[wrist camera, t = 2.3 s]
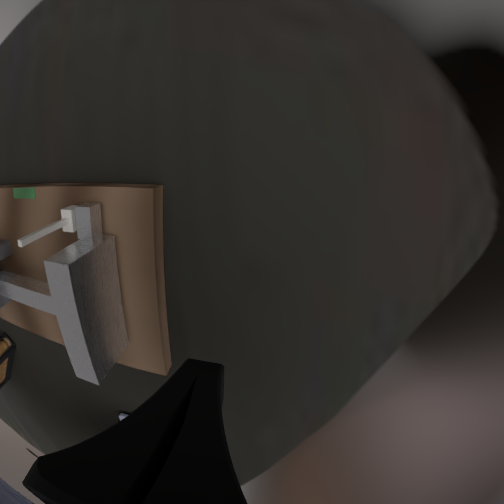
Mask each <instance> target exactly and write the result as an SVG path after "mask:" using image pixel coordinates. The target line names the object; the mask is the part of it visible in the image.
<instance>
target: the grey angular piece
mask: <svg viewBox="0 0 504 504" xmlns="http://www.w3.org/2000/svg"><path fill="white" fill-rule="evenodd" d="M75 213H76V225H77V235H78V239H80V240H78V241H76V242H74V243H72V244H71V245H69V246H67V247H65V248H64V249H62V250H60V251H59V252H57V253H55V254H54V255H52V256H50V257H48V258H47V259H45V260H44V265H45V271H46V276H47V280H48V283H46V282H42V281H38V280H35V279H31V278H28V277H24V276H21V275H17V274H14V273H11V272H7V271H4V270H2V271H0V295H2V296H5V297H7V298H10V299H12V300H15V301H17V302H20V303H22V304H25V305H28V306H31V307H33V308H36V309H39V310H42V311H45V312H47V313H50V314H53V315H56V317H57V320H58V324H59V327H60V330H61V334H62V337H63V340H64V343H65V346H66V349H67V352H68V355H69V358H70V360H71V363H72V366H73V368H74V371H75V374H76V376H77V377H79V378H81V379H84V380H86V381H89V382H92V383H94V384H97V385H100V384H101V382H102V381H103V379H104V378H105V376H106V375H107V374H108V372H109V371H110V369H111V368H112V366H113V365H114V364H115V362H116V361H117V359H118V358H119V356H120V355H121V354H122V352H123V351H124V349H125V348H126V347H127V345H128V344H129V341H128V336H127V331H126V325H125V319H124V313H123V307H122V300H121V293H120V285H119V277H118V268H117V259H116V248H115V236H112V235H103V234H102V221H101V203H91V202H86V203H83V204H80V205H78V206H75Z"/></svg>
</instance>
